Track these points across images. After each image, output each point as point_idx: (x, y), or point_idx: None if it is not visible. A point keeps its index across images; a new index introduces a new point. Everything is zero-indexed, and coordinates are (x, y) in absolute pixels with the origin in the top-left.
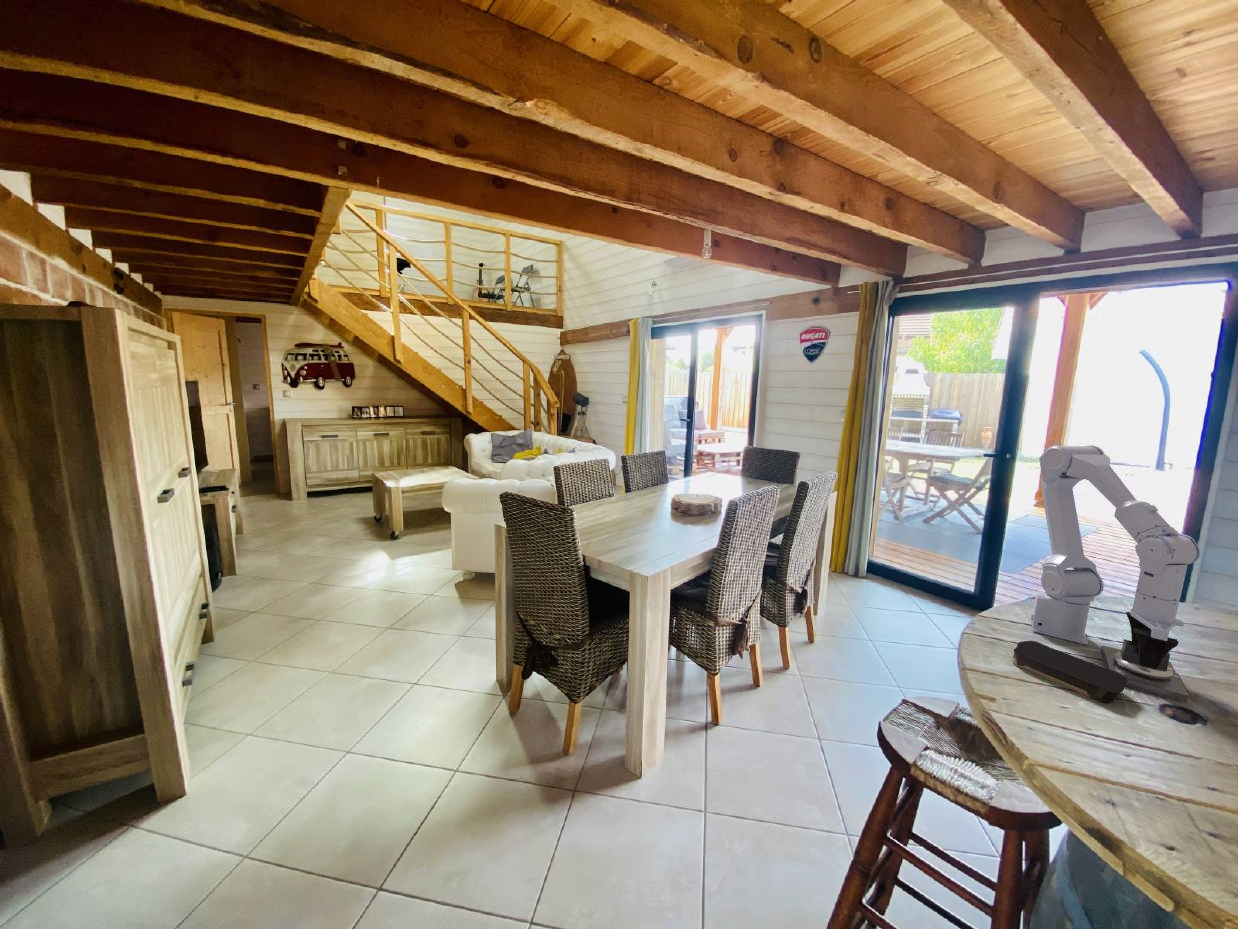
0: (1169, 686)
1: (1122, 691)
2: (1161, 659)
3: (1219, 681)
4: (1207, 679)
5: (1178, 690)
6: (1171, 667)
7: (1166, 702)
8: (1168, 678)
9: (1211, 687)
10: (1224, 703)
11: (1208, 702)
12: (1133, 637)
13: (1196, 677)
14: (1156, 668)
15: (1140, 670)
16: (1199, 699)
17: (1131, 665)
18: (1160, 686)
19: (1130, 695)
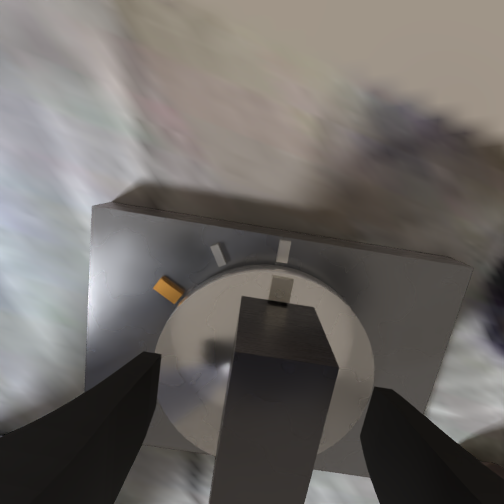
0: (407, 311)
1: (500, 466)
2: (453, 444)
3: (113, 8)
4: (126, 63)
5: (435, 290)
6: (164, 225)
7: (472, 326)
8: (343, 299)
9: (218, 84)
10: (374, 98)
11: (397, 166)
12: (122, 479)
13: (134, 109)
14: (395, 392)
15: (361, 410)
16: (384, 192)
17: (326, 432)
18: (425, 346)
19: (468, 422)
